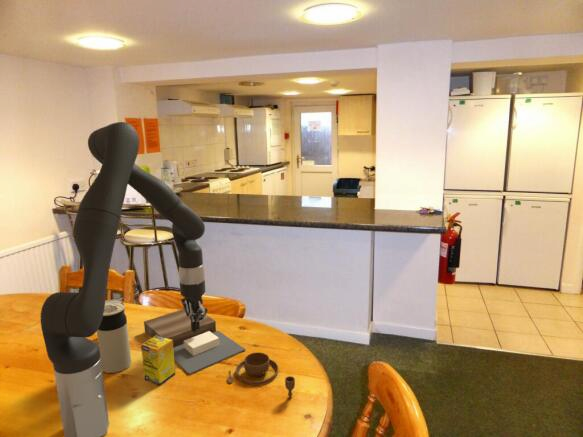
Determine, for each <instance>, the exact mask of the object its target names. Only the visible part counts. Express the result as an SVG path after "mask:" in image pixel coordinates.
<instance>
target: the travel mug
mask: <svg viewBox="0 0 583 437" xmlns="http://www.w3.org/2000/svg"><path fill="white" fill-rule="evenodd" d="M123 309H124V310H125V304H124V305H122V304H119V303H112V304H106V305H105V307H104V313H103V318H102V321H101V324H100V326H99V328H98V330H97V332H96V333H97V334H96V335H97V345H98V346H99V349H100V356H101V364H102V372H104V373H108V374H112V373H120V372H122V371H124V370H125V369H127V368H129V367H130V366H131V364H132V356H131V347H130V340H129V328H128V320H127V315H126V313H125V314H124V313H123Z"/></svg>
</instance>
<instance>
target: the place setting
mask: <svg viewBox="0 0 583 437" xmlns="http://www.w3.org/2000/svg"><path fill="white" fill-rule="evenodd" d="M244 365H245V366H244ZM243 366H244V367H243ZM270 366H271V367H273V368H274V371H275V373H274V374H273V375H272V376H270V377H268V378H266V379H262V380H254V381H253V380H247V379H245V378H242V377H241V376H240V371H241V370H242V369H243V368H244V369H245V371H246V372H247V374H249V375H251V377H256V378H257V377H258V378H259V377H261V376H263V375H265V374H266V373H267V372H268V371H269V369H270ZM242 367H243V368H242ZM241 368H242V369H241ZM240 369H241V370H240ZM231 372H232V371H231V370H228V377H227V378H226V382H227V383H228V384H232V383H233V382H234V380H235V379H234V377H233V376H232V374H231ZM278 373H279V365H278V363H277V362H275V361H274V360H272V359H271V358H270V356H269V355H268V354H267V353H264V352H252V353H250V354H248V355H246V356H245V358H244V359H243V360H242V361H241V362H239V364H238V365H237V366H236V368H235V376H236V377H237V379H238V380H239V381H240V382H241V383H244V384H246V385H250V386H251V385H252V386H253V385H254V386H259V385H264V384H268V383H269V382H271V381H273V380H274V379H275V378H276V377H277V376H278ZM284 382H285V384H284V385H285V388H286V389H287V391H288V393H287V395H288V399H289V400H291V399H293V392H292V391H293V390H294V389H295V387H296V386H295V385H296V379H295V377H294V376H293V375H291V376H286V377H285V380H284Z"/></svg>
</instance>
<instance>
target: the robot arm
mask: <svg viewBox="0 0 583 437" xmlns="http://www.w3.org/2000/svg"><path fill="white" fill-rule="evenodd" d="M87 148H88V150H89V151H90V153H91V155H92V157H93V158H95V160H96V161H98V163H100V164H102V165H101V167H100V170H99V172H98V174H97V176H96V177H95V179H94V180H93V182H92V184H91V185H90V186H89V188H88V190H87V191H86V193H85V194H84V196H83V197H82V199H81V201H80V203H79V206H78V209H77V212H76V215H75V219H74V223H73V228H72V236H73V241H74V244H75V246H76V249H77V251H78V254H79V256H80V259H81V262H82V266H83V279H82V286H81V290H80V292H71V291H70V292H68V291H59V292H53V293H52V294H50V295H49V296H47V297H46V299H45V301H44V302H43V305H42V307H41V311H40V328H41V332H42V337H43V340H44V344H45V345H44V346H45V349H46V353H47V357H48V359H49V361H50V362H51V363H52V367H53V372H54V378H55V385H56V390H57V397H58V404H59V410H60V411H59V412H60V417H61V423H62V428H63V434H64V435H63V437H103V436H105V435H107V434H108V428H109V425H110V420H109V411H108V405H107V404H108V403H107V397H106V396H107V395H106V389H105V381H104V373H103V372H104V371H103V370H102V364H101V356H100V349H99V344H98V343H96V342H95V341H93V340H91V339H88V338H89V337H92V336H94V335H95V334H96V333H97V330H98V328H99V326H100V324H101V321H102V318H103V313H104V307H105V302H106V298H107V291H108V282H109V272H110V267H111V261H112V258H113V252H114V247H115V243H116V240H117V239H116V238H117V235H118V232H119V226H120V221H121V219H122V218H121V216H122V211H123V206H124V202H125V197H126V194H127V189H128V185H129V186H130V187H131V188H132V189H134V191H135V192H137V193H138V194H140V195H141V196H142V198H144V199H145V200H146V202H148V203H149V205H151V207H153V209H154V210H155V211H156V212H157V213H158V214H159V215H160V216H161V217H162V218H164V219H165V220H168V221H170V223H172V224H171V231H172V237H173V240H174V243H175V246H176V249H177V252H178V255H177V257H178V278H179V280H178V281H179V291H180V296H182V297H183V298H180V301H181V304H182V307H183V309H184V310H185V312H186V315H187V316H189V319H190V320H191V330H192V331H193V332H194V333H195V332H198V331H199V330H200V323H199V321H200V320H203V319H204V317H205V315H207V313H208V307H204V306H203V304H204V301H203V298H202V297H203V295H204V294H205V293H206V279H205V268H204V259H203V250H202V247H201V246H200V245H199V244H198V243H197V242H196V240H197V241H198V240H199V239H201V238H202V237H203V235H204V234H205V231H206V229H205V228H206V226H205V223H204V221H203V219H202V217H201V216H199V215H198V214H197V213H196V212H195V211H194V210H193V209H192V208H191V207H189V206H188V205H187V204H185V203H184V202H183V201H182V200H181V199H180V197H179V196H178V194H177V193H175V192H174V190H173V189H172V188H171V187H170V185H169V184H167V183H165V182H164V181H163V180H161V179H160V178H158V177H156V176H154V175H153V174H151V173H149V172H148V171H146V170H144V169H143V168H141V167H140V166H139V165H137V164H136V160H137V157H138V155H139V154H138V153H139V150H140V138H139V134H138V132H137V130H136V129H135V127H134V126H133V125H132V124H130V123H128V122H124V121H119V122H113V123H110V124H108V125H106V126H102V127H100V128H97V129H96V130H94V131H92V132H91V133H90V134H89V136H88V140H87Z"/></svg>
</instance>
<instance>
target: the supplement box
mask: <svg viewBox="0 0 583 437" xmlns="http://www.w3.org/2000/svg"><path fill="white" fill-rule="evenodd" d="M140 347H141V358H142V365H143V366H142V367H143V377H144V381H146V382H147V381H148V382H150V383H153V384H154V385H155V384H156V385H157V386H162V385H164V384H165V383H167V381H170V379H171V378H173V377H174V376H176V365H175V364H176V363H175V362H174V351H173V340H171V339H167V338H164V337H161V336H158V335H156V336H154V337H153V338H149V339H147V340H146V341H145V342H143V343H141V344H140Z"/></svg>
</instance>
